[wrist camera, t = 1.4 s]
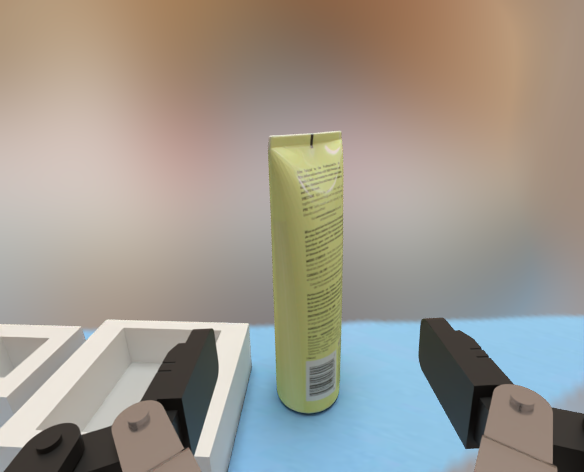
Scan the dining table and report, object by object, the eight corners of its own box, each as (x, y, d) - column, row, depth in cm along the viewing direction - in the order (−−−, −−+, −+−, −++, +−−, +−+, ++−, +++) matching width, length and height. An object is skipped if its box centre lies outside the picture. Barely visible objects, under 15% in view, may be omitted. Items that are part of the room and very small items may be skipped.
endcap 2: (11, 500, 19) (-17, 445, 17) (117, 362, 29) (106, 319, 27) (217, 513, 18) (209, 457, 16) (251, 366, 28) (248, 323, 27)
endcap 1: (-71, 443, 22) (-101, 392, 20) (16, 367, 29) (-1, 324, 27) (28, 448, 22) (6, 397, 20) (94, 370, 28) (81, 326, 27)
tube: (275, 363, 29) (266, 129, 22) (332, 359, 29) (342, 128, 22) (277, 420, 23) (267, 135, 16) (347, 414, 24) (366, 134, 17)
